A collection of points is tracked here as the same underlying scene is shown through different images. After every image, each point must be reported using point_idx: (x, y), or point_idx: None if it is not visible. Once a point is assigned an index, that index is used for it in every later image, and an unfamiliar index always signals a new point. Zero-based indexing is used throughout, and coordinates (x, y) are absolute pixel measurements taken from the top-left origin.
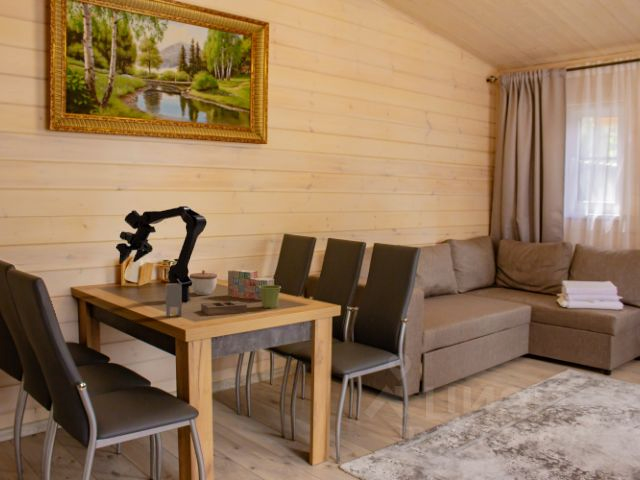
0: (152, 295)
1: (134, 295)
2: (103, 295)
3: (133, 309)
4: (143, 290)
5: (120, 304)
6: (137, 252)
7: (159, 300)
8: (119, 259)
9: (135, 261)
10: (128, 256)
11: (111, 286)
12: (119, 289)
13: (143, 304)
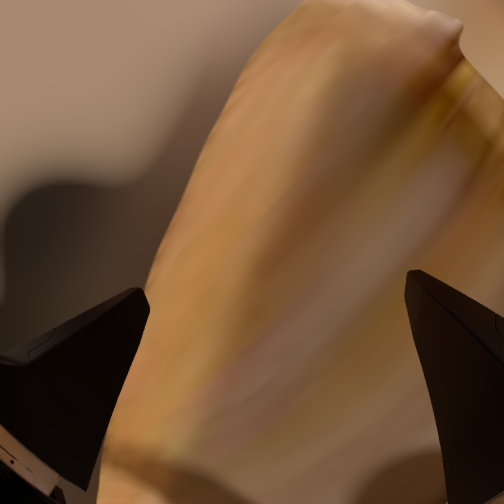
0: (353, 410)
1: (303, 338)
2: (215, 206)
3: (104, 479)
4: (447, 255)
5: (118, 416)
6: (485, 384)
7: (260, 496)
8: (91, 312)
9: (410, 318)
10: (82, 470)
11: (406, 61)
12: (388, 133)
13: (166, 482)
